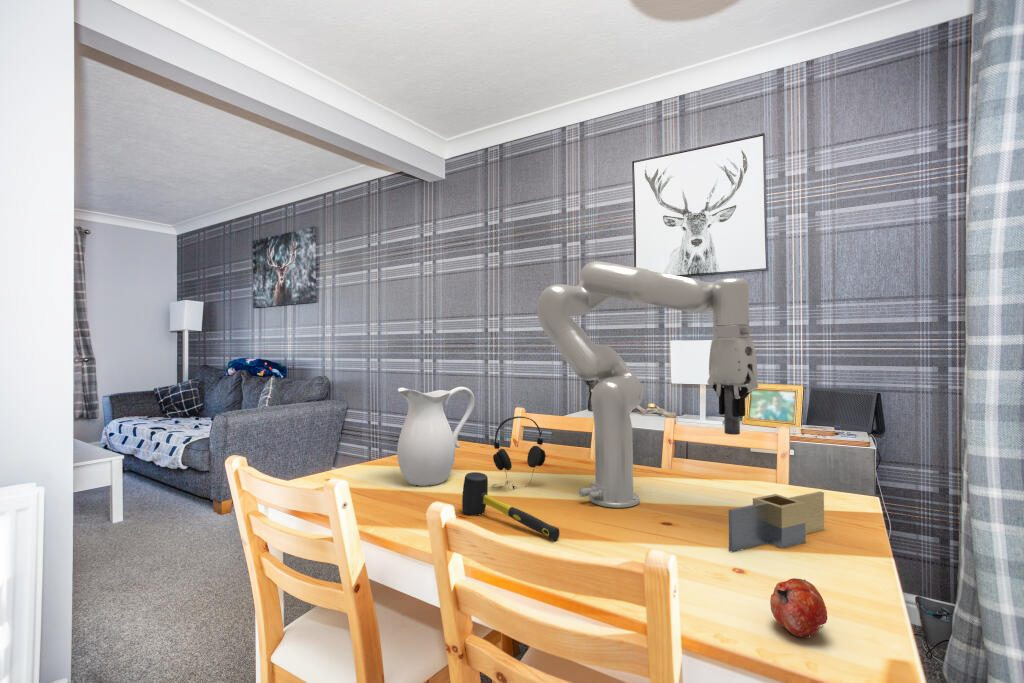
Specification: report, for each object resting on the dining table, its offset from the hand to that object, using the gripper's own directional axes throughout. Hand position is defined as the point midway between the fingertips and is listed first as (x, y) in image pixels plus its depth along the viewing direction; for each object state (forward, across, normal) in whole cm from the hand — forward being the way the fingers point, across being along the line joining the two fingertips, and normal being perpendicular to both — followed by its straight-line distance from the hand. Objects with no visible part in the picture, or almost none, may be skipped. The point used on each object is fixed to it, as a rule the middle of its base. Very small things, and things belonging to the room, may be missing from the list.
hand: (731, 414), depth 116 cm
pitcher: (+24, +64, +50) cm, 85 cm away
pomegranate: (+24, -36, +26) cm, 50 cm away
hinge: (+24, -12, 0) cm, 27 cm away
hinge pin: (+4, 0, 0) cm, 4 cm away
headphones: (+24, +47, +32) cm, 62 cm away
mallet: (+25, +21, +46) cm, 56 cm away
